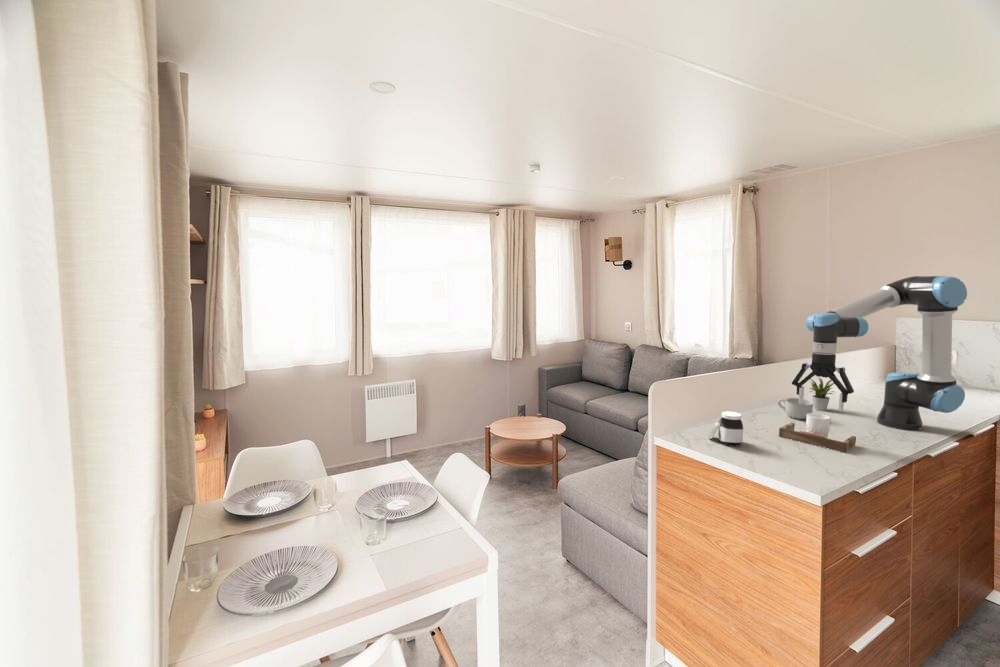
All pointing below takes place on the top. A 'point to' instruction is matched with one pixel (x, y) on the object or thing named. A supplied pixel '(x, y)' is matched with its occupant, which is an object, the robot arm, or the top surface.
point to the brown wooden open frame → (816, 439)
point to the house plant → (821, 395)
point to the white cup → (818, 424)
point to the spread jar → (729, 429)
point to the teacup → (797, 407)
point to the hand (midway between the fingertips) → (820, 406)
